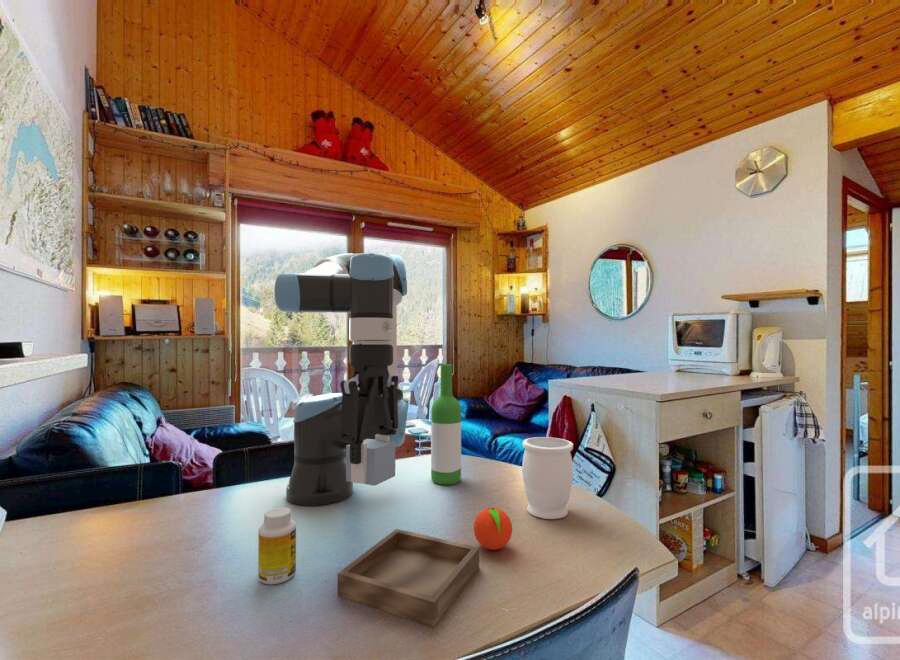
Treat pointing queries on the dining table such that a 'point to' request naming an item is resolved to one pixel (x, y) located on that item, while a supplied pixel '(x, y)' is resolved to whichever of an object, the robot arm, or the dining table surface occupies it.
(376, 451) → the grey cube
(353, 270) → the robot arm
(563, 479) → the jar
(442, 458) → the wine bottle
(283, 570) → the supplement bottle
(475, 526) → the clementine
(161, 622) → the dining table surface
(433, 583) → the walnut tray
